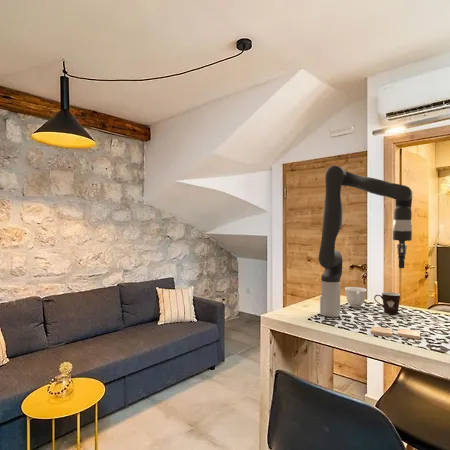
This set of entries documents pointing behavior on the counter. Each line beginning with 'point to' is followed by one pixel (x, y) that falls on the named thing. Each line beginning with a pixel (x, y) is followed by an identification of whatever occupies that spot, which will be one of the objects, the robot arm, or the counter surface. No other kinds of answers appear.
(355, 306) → the teacup
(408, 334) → the tile
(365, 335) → the counter surface
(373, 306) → the counter surface
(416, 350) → the counter surface
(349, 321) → the counter surface
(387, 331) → the tile
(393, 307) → the coffee mug
